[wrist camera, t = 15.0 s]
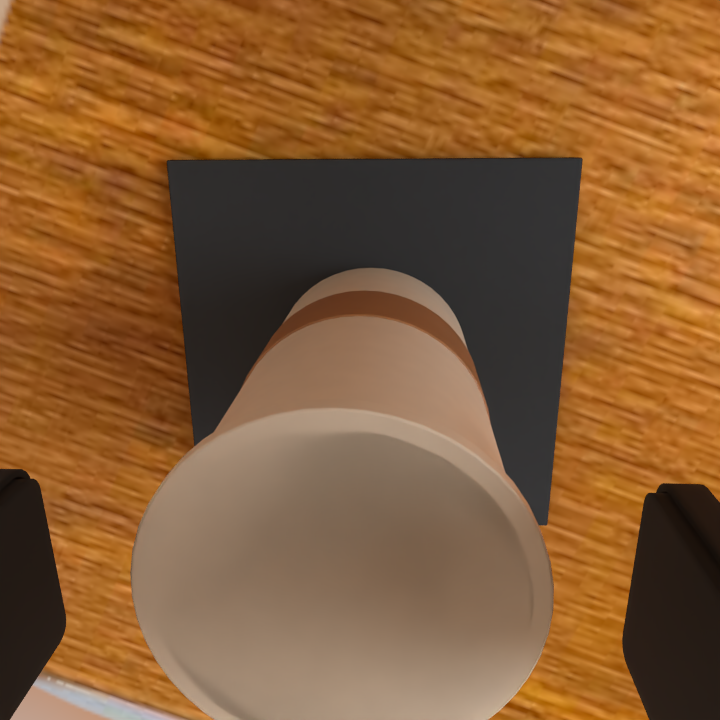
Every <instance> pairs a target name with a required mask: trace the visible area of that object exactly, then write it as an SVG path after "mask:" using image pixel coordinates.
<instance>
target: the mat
mask: <svg viewBox="0 0 720 720" xmlns="http://www.w3.org/2000/svg"><path fill="white" fill-rule="evenodd" d="M581 169H582V158H430V159H264V160H168V161H167V170H168V180H169V190H170V200H171V210H172V221H173V231H174V241H175V251H176V262H177V272H178V282H179V292H180V303H181V313H182V323H183V333H184V343H185V354H186V364H187V374H188V384H189V395H190V405H191V415H192V425H193V435H194V446H196V445H197V444H198V443H199V442H200V441H202V440H203V439H204V438H206V437H207V436H209V435H210V434H212V433H214V431H215V430H216V428H217V426H218V425H219V423H220V422H221V420H222V418H223V417H224V415H225V414H226V412H227V411H228V409H229V407H230V406H231V404H232V403H233V401H234V400H235V398H236V396H237V395H238V393H239V392H240V390H241V388H242V385H243V383H244V381H245V379H246V377H247V375H248V373H249V372H250V370H251V369H252V367H253V366H254V364H255V362H256V361H257V359H258V358H259V356H260V355H261V353H262V352H263V350H264V348H265V347H266V345H267V344H268V342H269V341H270V339H271V338H272V336H273V335H274V333H275V332H276V331H277V330H278V329H279V328H280V326H281V325H282V324H283V322H284V321H285V319H286V317H287V316H288V314H289V313H290V311H291V310H292V308H293V306H294V305H295V304H296V303H297V301H298V300H299V299H300V298H301V297H302V296H303V295H304V294H305V293H306V292H307V291H308V290H309V289H310V288H312V287H313V286H315V285H316V284H318V283H319V282H321V281H322V280H324V279H326V278H328V277H330V276H332V275H335V274H338V273H341V272H344V271H348V270H353V269H358V268H383V269H389V270H394V271H398V272H401V273H404V274H407V275H409V276H412V277H414V278H416V279H418V280H420V281H421V282H423V283H424V284H426V285H427V286H429V287H430V288H432V289H433V290H434V291H435V292H436V293H437V294H438V295H440V296H441V297H442V299H443V300H444V301H445V302H446V303H447V304H448V305H449V307H450V308H451V310H452V311H453V313H454V315H455V316H456V318H457V320H458V322H459V324H460V327H461V329H462V332H463V336H464V339H465V342H466V345H467V349H468V351H469V353H470V356H471V358H472V360H473V362H474V365H475V368H476V372H477V375H478V378H479V381H480V384H481V388H482V391H483V394H484V397H485V400H486V404H487V407H488V411H489V417H490V423H491V427H492V431H493V434H494V437H495V441H496V444H497V447H498V450H499V454H500V457H501V460H502V464H503V467H504V470H505V473H506V474H507V475H508V476H509V477H510V479H511V480H512V481H513V482H514V483H515V485H516V486H517V488H518V489H519V491H520V492H521V494H522V495H523V497H524V498H525V500H526V501H527V502H528V504H529V506H530V508H531V510H532V512H533V515H534V517H535V519H536V521H537V523H538V525H547V522H548V511H549V501H550V490H551V480H552V470H553V459H554V449H555V439H556V428H557V418H558V407H559V397H560V387H561V376H562V366H563V356H564V345H565V335H566V325H567V314H568V304H569V293H570V283H571V273H572V262H573V252H574V242H575V231H576V221H577V211H578V200H579V190H580V179H581Z"/></svg>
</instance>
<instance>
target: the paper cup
mask: <svg viewBox="0 0 720 720" xmlns="http://www.w3.org/2000/svg"><path fill="white" fill-rule="evenodd" d="M131 586H132V598H133V602H134V607H135V611H136V616H137V620H138V622H139V625H140V628H141V630H142V633H143V636H144V638H145V641H146V643H147V644H148V646H149V648H150V650H151V652H152V654H153V656H154V657H155V659H156V661H157V662H158V664H159V665H160V666H161V668H162V669H163V671H164V672H165V673H166V675H167V676H168V678H169V679H170V680H171V681H172V682H173V683H174V684H175V686H176V687H177V688H178V689H179V690H180V691H181V692H182V693H183V694H184V695H185V696H186V697H187V698H188V699H189V700H190V701H191V702H193V703H194V704H195V705H196V706H197V707H198V708H199V709H201V710H202V711H203V712H204V713H206V714H207V715H209V716H210V717H211V718H213V719H214V720H488V719H489V718H491V717H492V716H493V715H495V714H496V713H497V712H498V711H500V710H501V709H502V708H503V707H504V706H505V705H506V704H507V703H508V702H509V701H510V700H511V699H512V698H513V697H514V696H515V694H516V693H517V692H518V691H519V689H520V688H521V687H522V685H523V684H524V683H525V681H526V680H527V679H528V677H529V676H530V674H531V672H532V670H533V669H534V667H535V665H536V663H537V661H538V659H539V657H540V656H541V653H542V650H543V647H544V645H545V642H546V639H547V636H548V633H549V629H550V623H551V618H552V613H553V594H554V584H553V577H552V570H551V562H550V559H549V555H548V552H547V549H546V546H545V542H544V539H543V536H542V533H541V530H540V527H539V525H538V523H537V521H536V519H535V517H534V515H533V512H532V510H531V508H530V506H529V504H528V502H527V501H526V500H525V498H524V497H523V495H522V494H521V492H520V491H519V489H518V488H517V486H516V485H515V483H514V482H513V481H512V480H511V479H510V477H509V476H508V475H507V474H506V473H505V470H504V467H503V464H502V460H501V457H500V454H499V450H498V447H497V444H496V441H495V437H494V434H493V431H492V427H491V423H490V417H489V411H488V407H487V404H486V400H485V397H484V394H483V391H482V388H481V384H480V381H479V378H478V375H477V372H476V368H475V365H474V362H473V360H472V358H471V356H470V353H469V351H468V349H467V345H466V342H465V339H464V336H463V332H462V329H461V327H460V324H459V322H458V320H457V318H456V316H455V315H454V313H453V311H452V310H451V308H450V307H449V305H448V304H447V303H446V302H445V301H444V300H443V299H442V297H441V296H440V295H438V294H437V293H436V292H435V291H434V290H433V289H432V288H430V287H429V286H427V285H426V284H424V283H423V282H421V281H420V280H418V279H416V278H414V277H412V276H409V275H407V274H404V273H401V272H398V271H394V270H389V269H383V268H358V269H353V270H348V271H344V272H341V273H338V274H335V275H332V276H330V277H328V278H326V279H324V280H322V281H321V282H319V283H318V284H316V285H315V286H313V287H312V288H310V289H309V290H308V291H307V292H306V293H305V294H304V295H303V296H302V297H301V298H300V299H299V300H298V301H297V303H296V304H295V305H294V306H293V308H292V310H291V311H290V313H289V314H288V316H287V317H286V319H285V321H284V322H283V324H282V325H281V326H280V328H279V329H278V330H277V331H276V332H275V333H274V335H273V336H272V338H271V339H270V341H269V342H268V344H267V345H266V347H265V348H264V350H263V352H262V353H261V355H260V356H259V358H258V359H257V361H256V362H255V364H254V366H253V367H252V369H251V370H250V372H249V373H248V375H247V377H246V379H245V381H244V383H243V385H242V388H241V390H240V392H239V393H238V395H237V396H236V398H235V400H234V401H233V403H232V404H231V406H230V407H229V409H228V411H227V412H226V414H225V415H224V417H223V418H222V420H221V422H220V423H219V425H218V426H217V428H216V430H215V431H214V433H212V434H210V435H209V436H207V437H206V438H204V439H203V440H202V441H200V442H199V443H198V444H197V445H196V446H195V447H193V448H192V449H191V450H190V451H189V452H188V453H186V454H185V455H184V456H183V457H182V458H181V460H180V461H179V462H178V463H177V464H176V465H175V466H174V468H173V469H172V470H171V471H170V472H169V473H168V475H167V476H166V477H165V479H164V480H163V482H162V483H161V485H160V486H159V488H158V490H157V491H156V493H155V494H154V496H153V497H152V499H151V501H150V502H149V504H148V506H147V508H146V510H145V513H144V515H143V517H142V520H141V522H140V524H139V526H138V530H137V534H136V538H135V542H134V546H133V551H132V563H131Z"/></svg>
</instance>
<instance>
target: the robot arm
mask: <svg viewBox="0 0 720 720" xmlns="http://www.w3.org/2000/svg"><path fill="white" fill-rule="evenodd" d="M65 627H66V614H65V609H64V604H63V599H62V594H61V589H60V584H59V579H58V574H57V569H56V564H55V559H54V554H53V549H52V544H51V539H50V534H49V529H48V524H47V519H46V514H45V509H44V504H43V499H42V494H41V489H40V486H39V483H38V482H37V481H36V480H35V479H30V476H29V475H28V474H27V472H26V471H24V470H22V469H0V720H10V719H11V717H12V716H13V714H14V712H15V711H16V709H17V708H18V706H19V705H20V703H21V702H22V700H23V699H24V697H25V696H26V694H27V692H28V691H29V689H30V688H31V686H32V685H33V683H34V682H35V680H36V679H37V677H38V676H39V674H40V673H41V671H42V669H43V668H44V666H45V665H46V663H47V662H48V660H49V659H50V657H51V656H52V654H53V653H54V651H55V649H56V648H57V646H58V645H59V643H60V642H61V640H62V638H63V635H64V632H65ZM622 641H623V653H624V657H625V661H626V664H627V666H628V669H629V671H630V674H631V676H632V678H633V681H634V683H635V686H636V688H637V691H638V693H639V695H640V698H641V700H642V703H643V705H644V708H645V710H646V712H647V715H648V717H649V720H720V503H719V501H718V500H717V499H716V498H715V497H714V495H713V494H712V493H711V492H710V491H709V489H708V488H707V487H705V486H704V485H701V484H665V483H663V484H661V485H660V486H659V488H658V489H657V492H656V493H648V494H647V495H646V497H645V500H644V505H643V511H642V518H641V524H640V530H639V536H638V543H637V549H636V555H635V562H634V568H633V574H632V580H631V587H630V593H629V599H628V605H627V612H626V618H625V624H624V630H623V639H622Z"/></svg>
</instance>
